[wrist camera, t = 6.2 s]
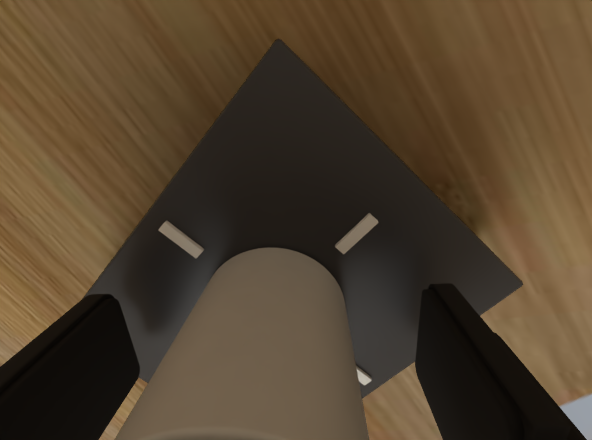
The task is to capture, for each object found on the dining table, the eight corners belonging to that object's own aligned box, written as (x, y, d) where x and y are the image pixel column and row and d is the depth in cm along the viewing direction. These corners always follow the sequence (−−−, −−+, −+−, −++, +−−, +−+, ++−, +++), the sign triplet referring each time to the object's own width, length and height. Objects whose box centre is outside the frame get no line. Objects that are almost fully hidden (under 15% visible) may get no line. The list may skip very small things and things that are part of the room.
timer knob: (282, 383, 11) (253, 659, 5) (178, 311, 10) (17, 556, 4) (375, 307, 9) (461, 572, 4) (265, 216, 9) (184, 399, 3)
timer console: (279, 397, 15) (272, 466, 12) (112, 282, 13) (55, 332, 10) (474, 243, 12) (529, 287, 9) (287, 57, 10) (277, 33, 7)
